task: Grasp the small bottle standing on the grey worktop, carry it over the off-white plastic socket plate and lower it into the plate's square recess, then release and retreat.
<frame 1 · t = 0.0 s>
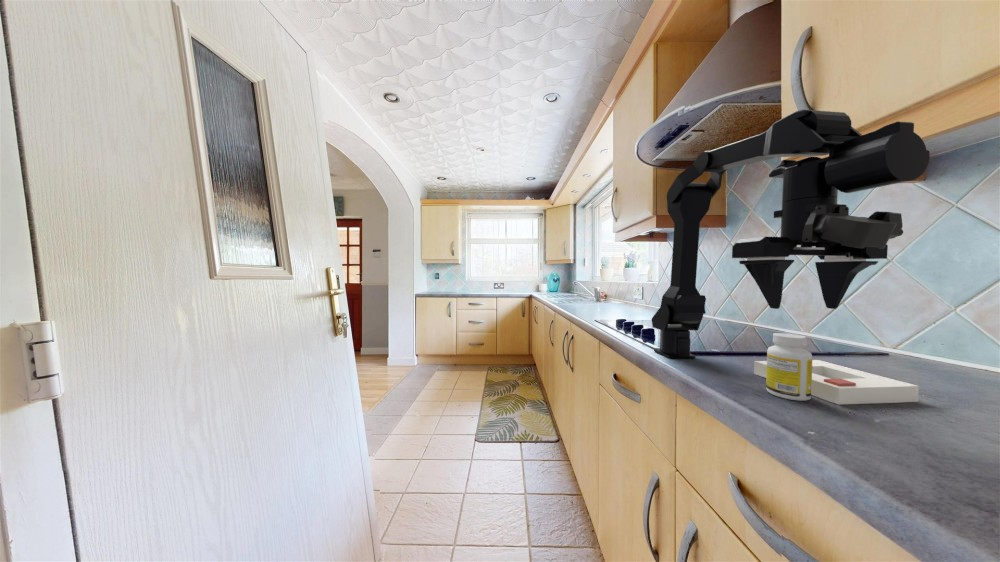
hand: (803, 308, 46), 15 cm above the table, fingers open, 9 cm apart
supplement bottle: (787, 396, 51), on the table
socket plate: (826, 386, 55), on the table
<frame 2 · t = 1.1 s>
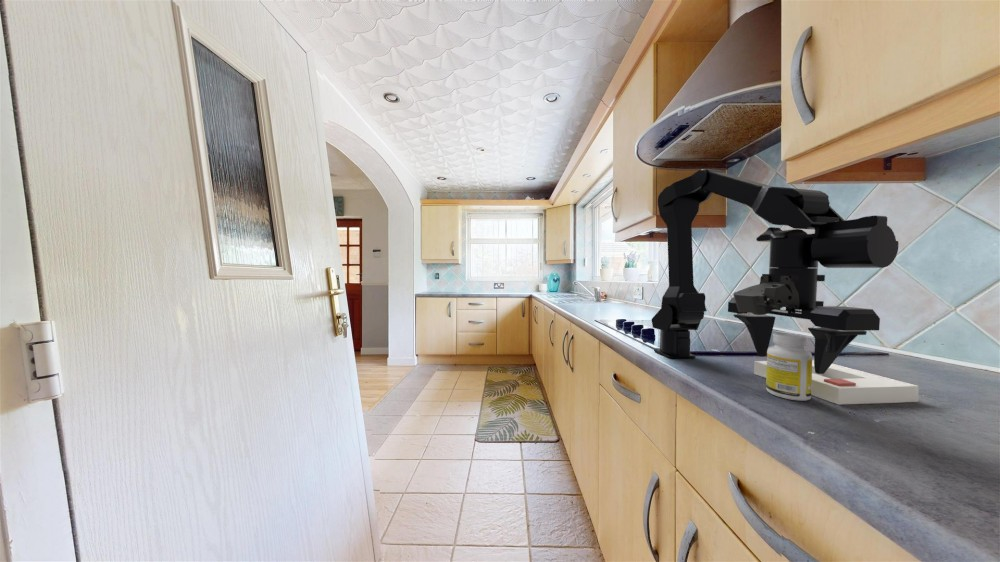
hand: (787, 364, 51), 5 cm above the table, fingers open, 9 cm apart
nothing on the table moved.
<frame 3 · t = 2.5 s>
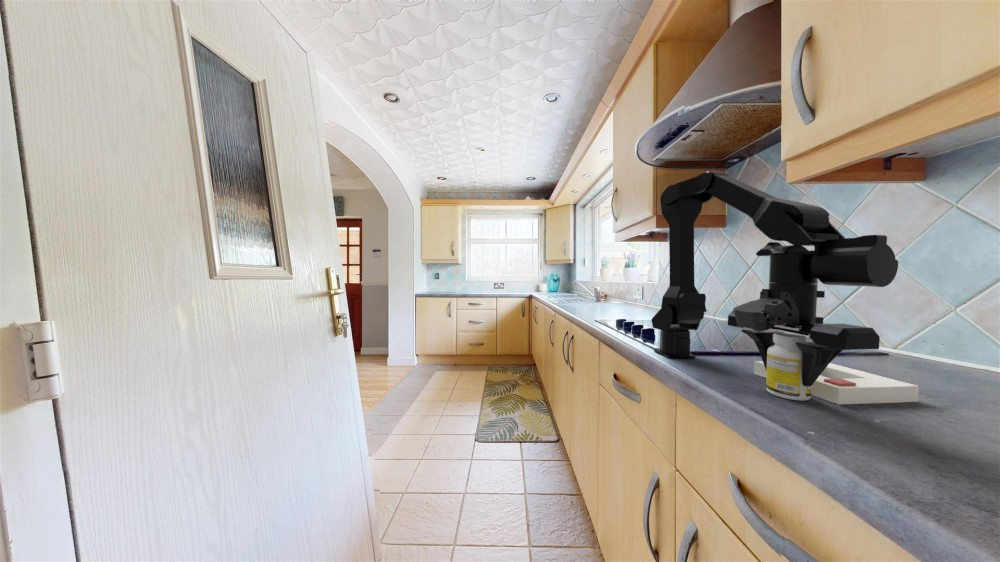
hand: (787, 379, 51), 3 cm above the table, fingers closed on supplement bottle, 5 cm apart
supplement bottle: (787, 396, 51), on the table, touching gripper
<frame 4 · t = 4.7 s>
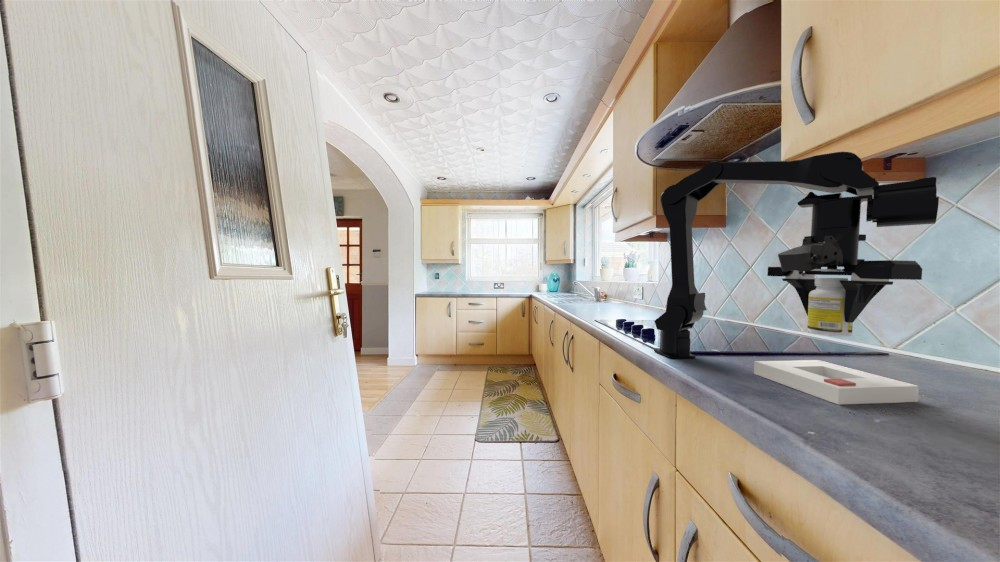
hand: (829, 319, 54), 12 cm above the table, fingers closed on supplement bottle, 5 cm apart
supplement bottle: (828, 335, 55), point 9 cm above the table, touching gripper
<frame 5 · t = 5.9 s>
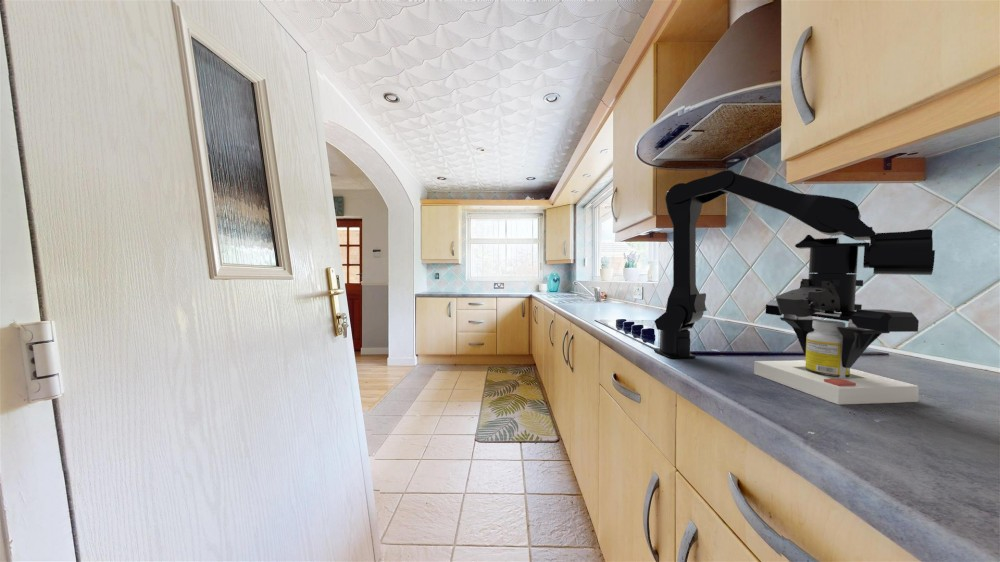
hand: (826, 362, 55), 4 cm above the table, fingers closed on supplement bottle, 5 cm apart
supplement bottle: (826, 377, 55), point 1 cm above the table, touching gripper
when the fingers open (3 cm above the table, at t = 6.9 s): supplement bottle stays where it is, resting on socket plate.
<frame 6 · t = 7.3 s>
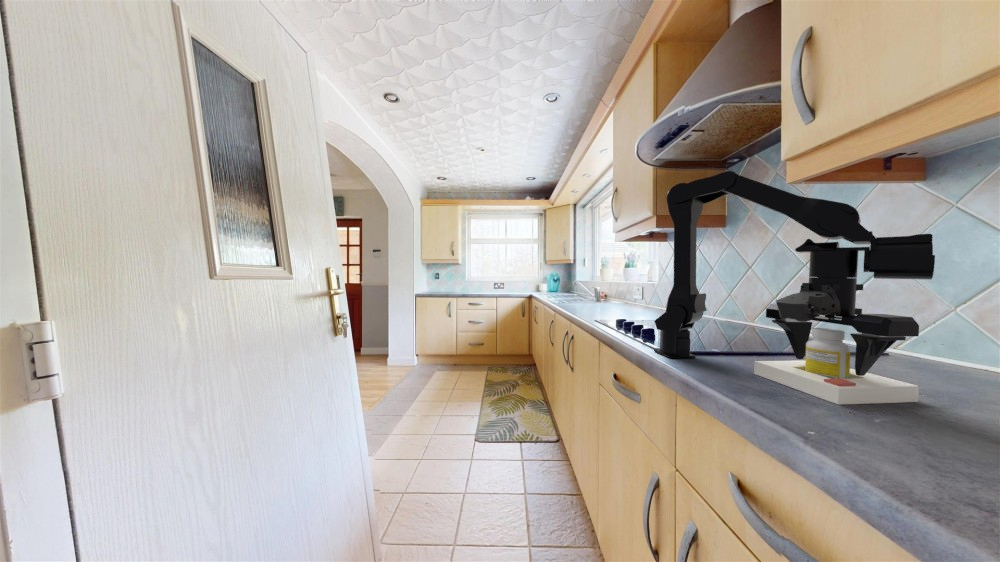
hand: (827, 366, 55), 3 cm above the table, fingers open, 9 cm apart
supplement bottle: (825, 385, 55), resting on socket plate
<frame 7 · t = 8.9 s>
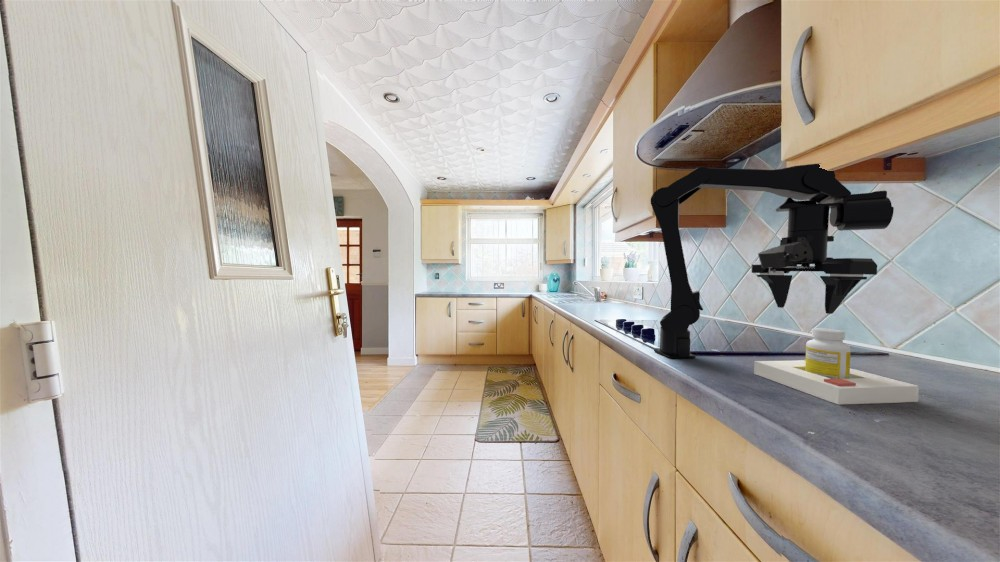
hand: (803, 310, 62), 12 cm above the table, fingers open, 9 cm apart
nothing on the table moved.
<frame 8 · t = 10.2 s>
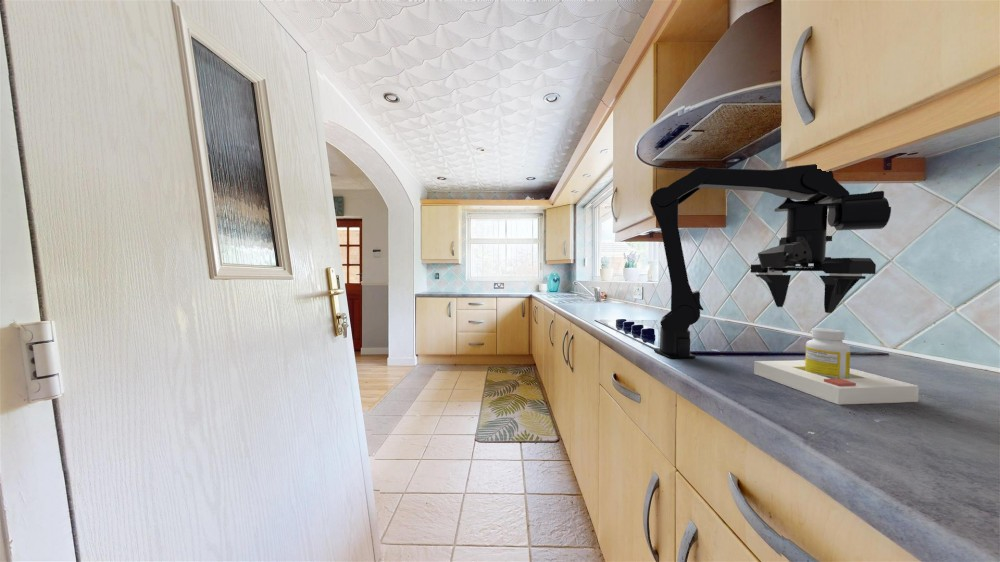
hand: (802, 309, 63), 13 cm above the table, fingers open, 9 cm apart
nothing on the table moved.
at the end: supplement bottle 0.1 cm off-centre on the socket plate, point 0.0 cm above the socket plate's base; supplement bottle tilted 0°; the gripper is holding nothing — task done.
